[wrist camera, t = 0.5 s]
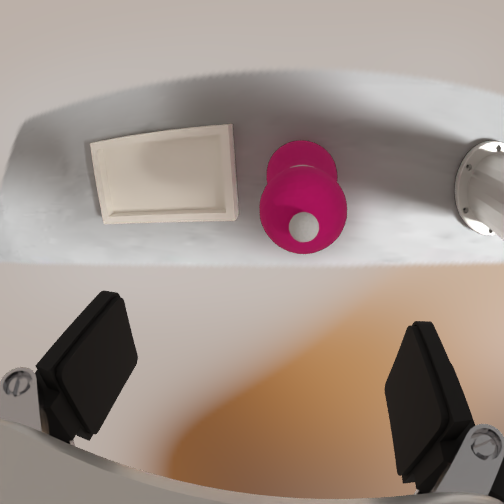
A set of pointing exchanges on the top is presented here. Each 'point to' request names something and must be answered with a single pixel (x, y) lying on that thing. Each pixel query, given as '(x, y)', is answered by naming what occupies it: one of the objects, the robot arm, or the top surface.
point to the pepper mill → (302, 199)
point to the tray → (167, 176)
